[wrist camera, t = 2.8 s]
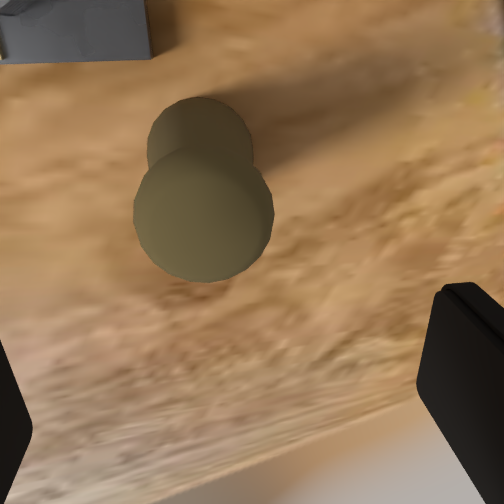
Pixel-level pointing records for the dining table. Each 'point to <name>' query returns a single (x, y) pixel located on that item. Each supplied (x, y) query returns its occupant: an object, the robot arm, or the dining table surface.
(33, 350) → the dining table surface
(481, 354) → the robot arm
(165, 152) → the olive game pawn
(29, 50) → the socket
